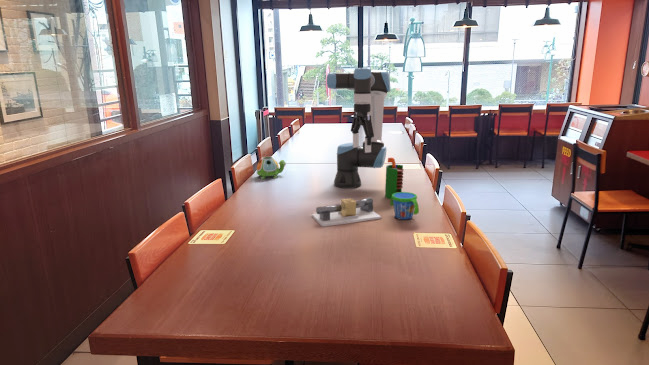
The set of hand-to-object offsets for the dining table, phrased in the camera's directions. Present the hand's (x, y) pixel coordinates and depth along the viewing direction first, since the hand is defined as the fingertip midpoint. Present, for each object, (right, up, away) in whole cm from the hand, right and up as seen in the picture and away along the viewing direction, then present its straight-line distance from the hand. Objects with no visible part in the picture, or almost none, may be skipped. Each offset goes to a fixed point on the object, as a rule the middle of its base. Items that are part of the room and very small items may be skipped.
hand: (361, 149), depth 196 cm
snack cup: (+17, -31, -11) cm, 37 cm away
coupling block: (-7, -30, -11) cm, 32 cm away
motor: (+18, -23, +19) cm, 35 cm away
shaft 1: (-15, -32, -14) cm, 38 cm away
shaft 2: (0, -29, -5) cm, 29 cm away
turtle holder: (-50, -12, +63) cm, 81 cm away
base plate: (-8, -30, -10) cm, 33 cm away
